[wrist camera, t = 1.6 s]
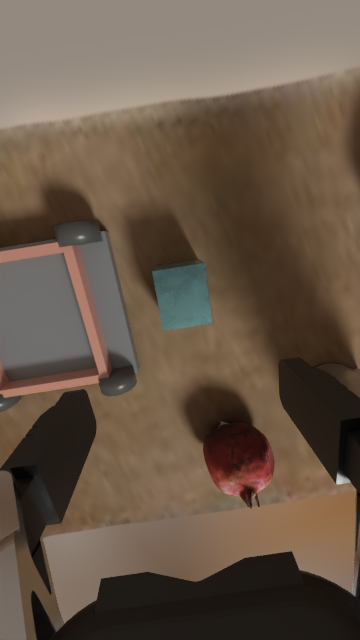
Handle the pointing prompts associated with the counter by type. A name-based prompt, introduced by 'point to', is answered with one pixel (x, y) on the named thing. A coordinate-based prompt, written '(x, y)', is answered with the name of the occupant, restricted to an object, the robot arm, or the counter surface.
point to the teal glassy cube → (182, 294)
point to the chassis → (63, 316)
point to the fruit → (239, 460)
